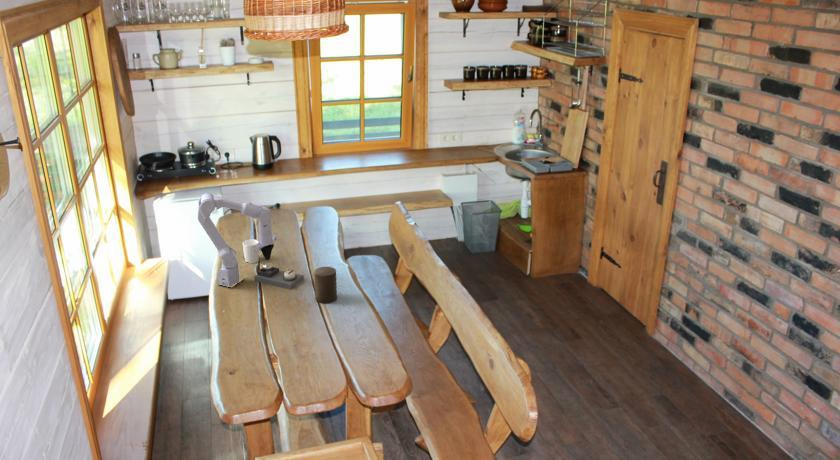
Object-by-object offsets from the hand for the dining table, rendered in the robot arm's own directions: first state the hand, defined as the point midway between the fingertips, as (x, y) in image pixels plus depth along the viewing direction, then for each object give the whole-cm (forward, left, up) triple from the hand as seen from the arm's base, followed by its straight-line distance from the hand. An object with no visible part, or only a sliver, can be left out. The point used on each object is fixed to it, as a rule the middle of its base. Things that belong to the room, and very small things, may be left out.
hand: (267, 259), depth 332 cm
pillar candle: (-6, -35, -10) cm, 37 cm away
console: (0, -6, -10) cm, 12 cm away
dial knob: (0, -12, -7) cm, 14 cm away
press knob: (0, 0, -5) cm, 5 cm away
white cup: (+13, +19, -10) cm, 25 cm away
